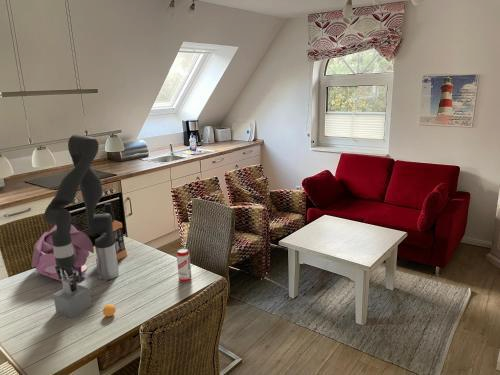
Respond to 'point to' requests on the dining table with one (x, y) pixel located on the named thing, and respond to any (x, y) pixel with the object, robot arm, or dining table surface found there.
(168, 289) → the dining table surface
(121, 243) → the whiskey bottle
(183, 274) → the beer can
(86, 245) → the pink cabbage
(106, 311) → the ball
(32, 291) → the dining table surface
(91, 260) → the dining table surface
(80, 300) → the grey stepped block
